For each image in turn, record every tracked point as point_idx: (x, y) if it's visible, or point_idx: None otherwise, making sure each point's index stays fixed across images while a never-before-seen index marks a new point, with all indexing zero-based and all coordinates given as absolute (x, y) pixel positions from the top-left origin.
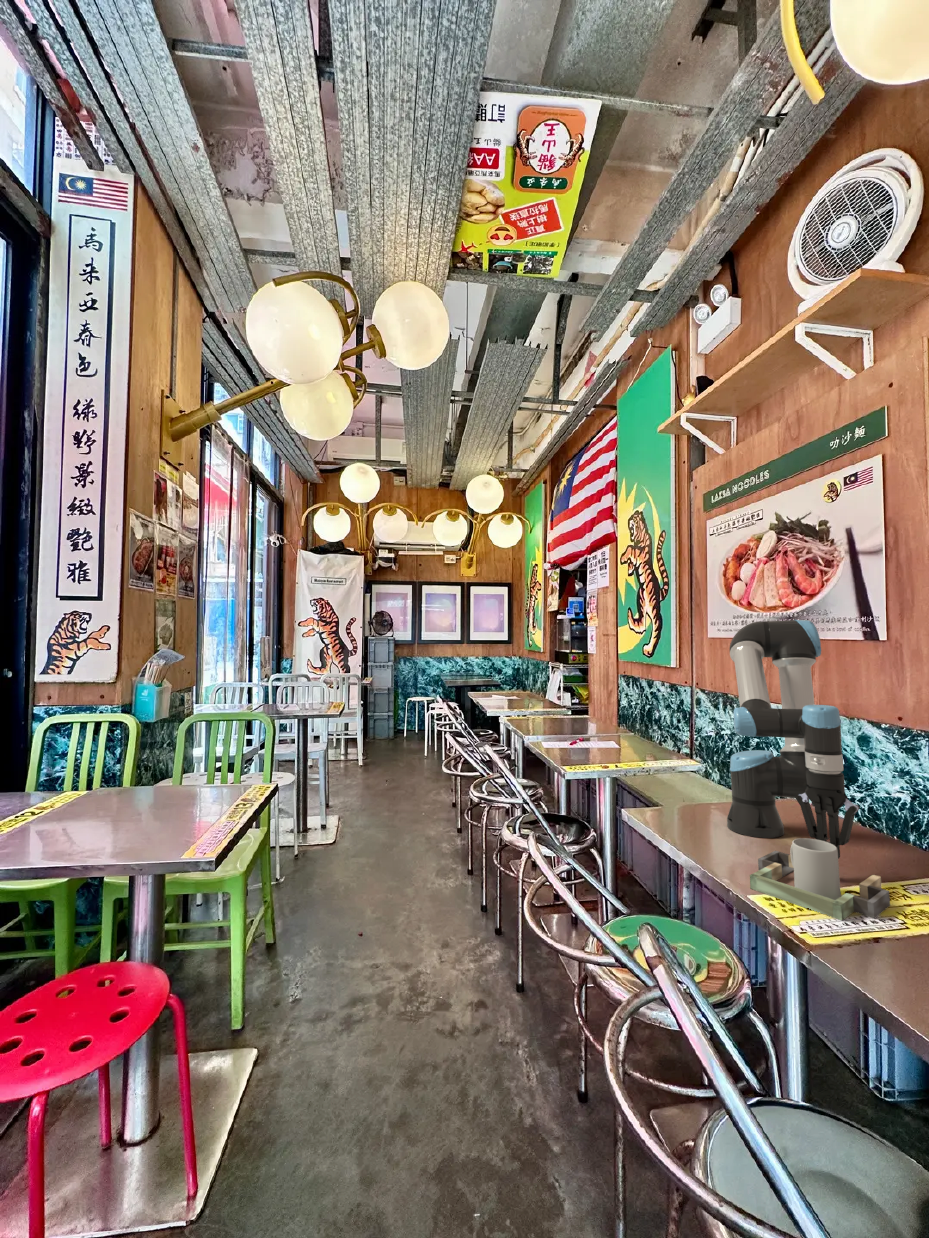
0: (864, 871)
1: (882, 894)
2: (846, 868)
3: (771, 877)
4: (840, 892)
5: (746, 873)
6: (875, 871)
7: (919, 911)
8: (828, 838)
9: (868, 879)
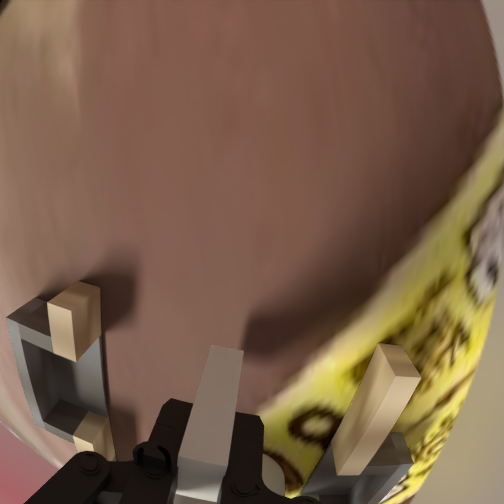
0: (339, 144)
1: (389, 487)
2: (259, 157)
3: None
4: (284, 491)
5: None
6: (380, 110)
7: (458, 413)
8: (174, 461)
9: (371, 431)
